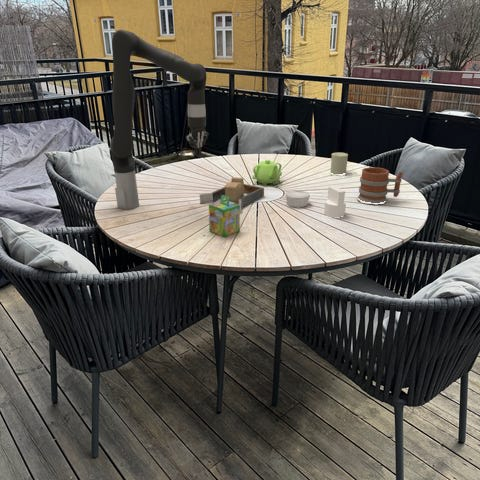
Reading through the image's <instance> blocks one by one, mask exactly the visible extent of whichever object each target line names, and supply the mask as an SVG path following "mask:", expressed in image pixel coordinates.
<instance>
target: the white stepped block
mask: <svg viewBox="0 0 480 480" xmlns="http://www.w3.org/2000/svg"><path fill="white" fill-rule="evenodd" d="M327 189H328V190H327V199H326V200H325V201H324V210H323V215H324V214H325V215H327V216H330V217H341V216H344V215H346V205H347V202H346V200H345V196H346V191H345V190H343V189H342V188H340V187H339V186H336V185H328V188H327ZM325 215H324V216H325ZM344 217H345V216H344Z"/></svg>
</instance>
